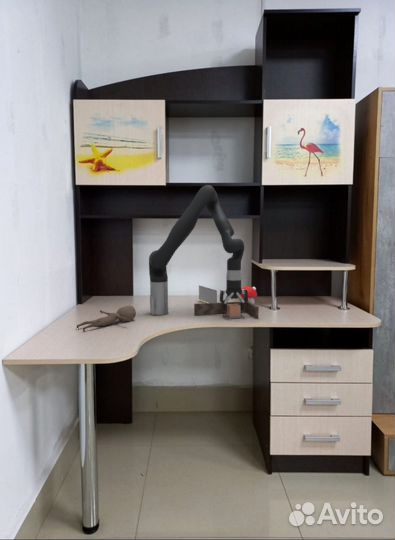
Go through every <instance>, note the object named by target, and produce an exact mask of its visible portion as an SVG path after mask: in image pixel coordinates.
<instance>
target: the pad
mask: <svg viewBox="0 0 395 540" xmlns="http://www.w3.org/2000/svg"><path fill="white" fill-rule="evenodd" d="M222 316H223V317H224V318H225V319H227V320H241V318H243V319H246V317H245V316H244V315H242V314H241V315H240V317H229V316H228V315H227V314H222Z"/></svg>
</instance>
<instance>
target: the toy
mask: <svg viewBox="0 0 395 540" xmlns="http://www.w3.org/2000/svg"><path fill="white" fill-rule="evenodd" d="M99 312H100V315H102V314H105V315H106V316H102V317H99V318H97V319H95V320H86V321H83V322H80V323H79V324H76V329H77V328H79V327H82V326H84V327H82V332H83V331H86V329H89V328H92V327H96V326H97V327H98V326H101V327H106V325H107V326H110V325H112V324H113V323H115V322H116V321H119V322H121V323H127V322H130V321H131V322H132V321H133V320H134V319H136V318H135V317H136V315H137V311H136V309H135V307H134V306H133V305H125V306H121V307H119V308H118V309H117V311H116V312H106V311H103V310H101V309H100V310H99ZM126 321H127V322H126ZM85 325H87V326H85Z"/></svg>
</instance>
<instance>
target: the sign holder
mask: <svg viewBox="0 0 395 540" xmlns="http://www.w3.org/2000/svg"><path fill="white" fill-rule="evenodd" d="M197 302H198V303H218V291H217V289H213V288H210V287H206V286H203V285H199V284H198V300H197Z"/></svg>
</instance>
